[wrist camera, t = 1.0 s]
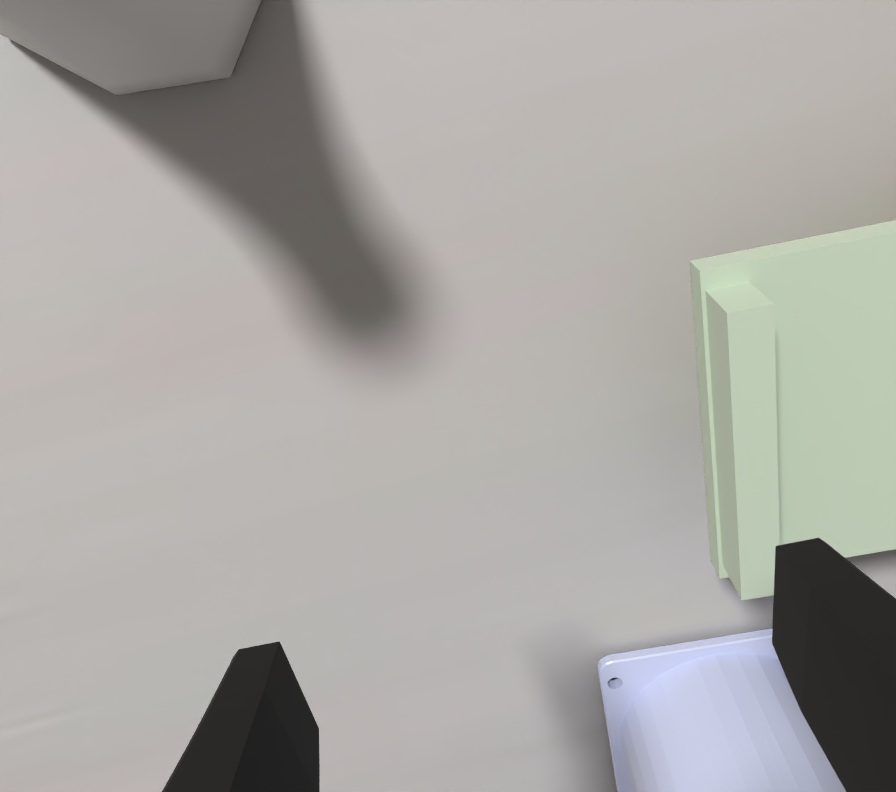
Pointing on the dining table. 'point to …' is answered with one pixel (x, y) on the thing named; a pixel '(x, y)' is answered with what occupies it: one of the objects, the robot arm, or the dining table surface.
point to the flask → (133, 38)
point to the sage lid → (797, 398)
